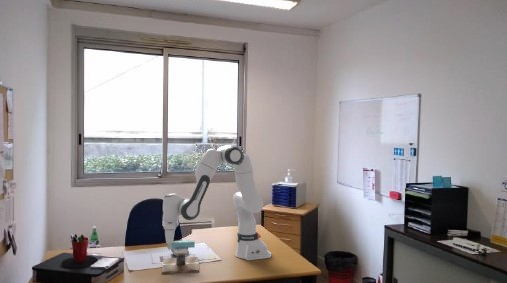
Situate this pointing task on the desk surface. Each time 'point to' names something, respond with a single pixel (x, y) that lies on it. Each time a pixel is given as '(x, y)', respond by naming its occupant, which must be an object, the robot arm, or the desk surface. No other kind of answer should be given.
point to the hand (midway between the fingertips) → (170, 246)
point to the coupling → (182, 247)
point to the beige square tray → (180, 265)
